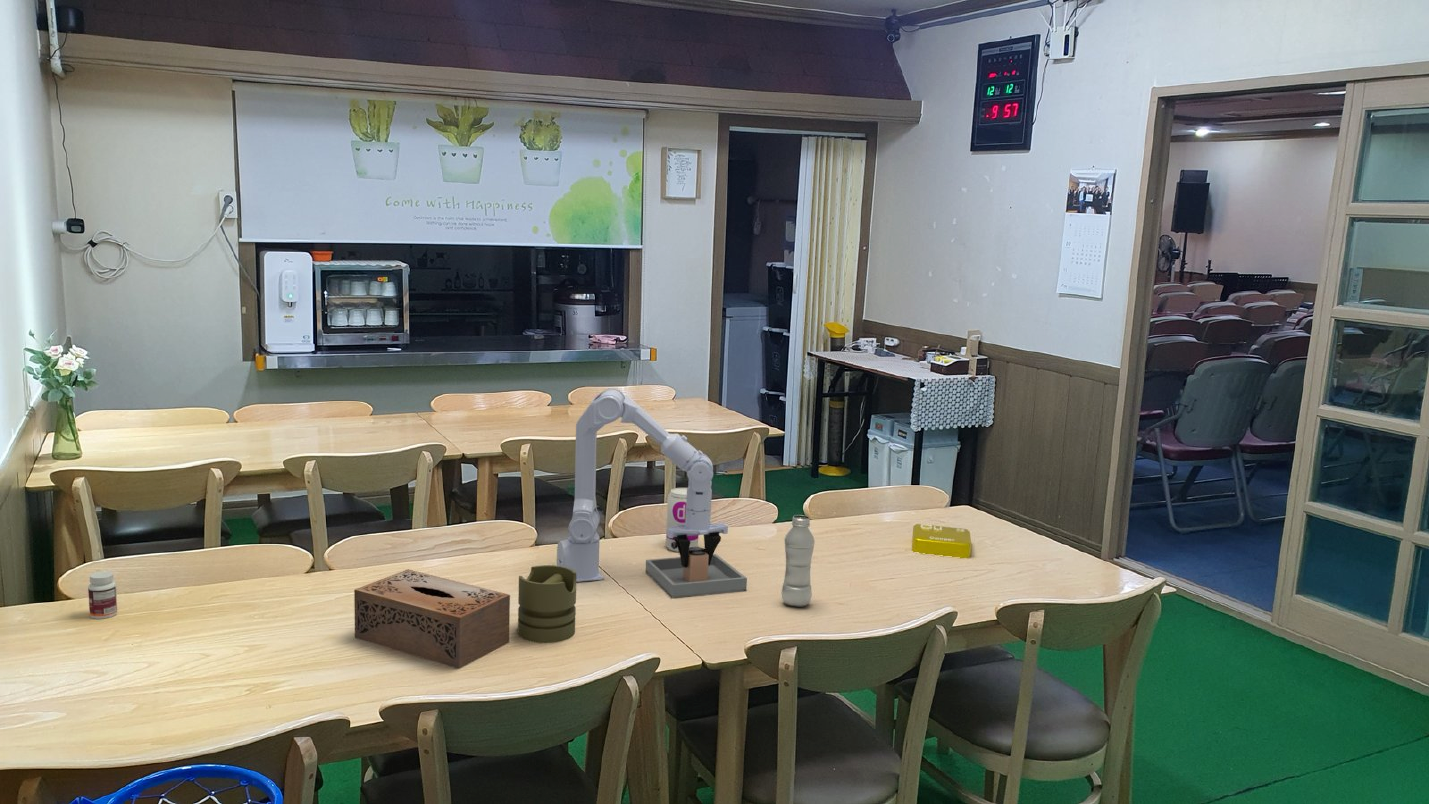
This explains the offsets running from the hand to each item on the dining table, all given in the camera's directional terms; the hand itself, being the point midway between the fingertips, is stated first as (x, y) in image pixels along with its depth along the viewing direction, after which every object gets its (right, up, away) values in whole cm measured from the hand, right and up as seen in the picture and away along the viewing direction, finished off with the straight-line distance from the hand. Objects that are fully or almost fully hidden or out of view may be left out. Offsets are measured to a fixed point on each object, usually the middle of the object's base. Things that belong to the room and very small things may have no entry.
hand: (695, 565), depth 243 cm
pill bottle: (-116, -5, -36) cm, 122 cm away
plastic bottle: (+22, -7, -11) cm, 26 cm away
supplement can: (-4, 0, +25) cm, 25 cm away
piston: (-29, -8, -33) cm, 45 cm away
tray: (0, -4, +1) cm, 4 cm away
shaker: (0, -3, +1) cm, 3 cm away
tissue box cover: (-50, -9, -40) cm, 65 cm away
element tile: (+64, -2, +36) cm, 74 cm away
